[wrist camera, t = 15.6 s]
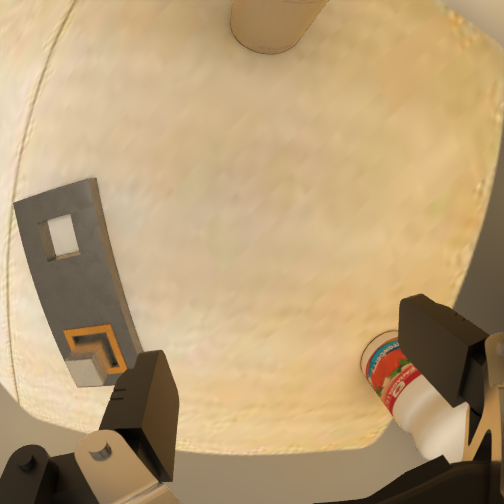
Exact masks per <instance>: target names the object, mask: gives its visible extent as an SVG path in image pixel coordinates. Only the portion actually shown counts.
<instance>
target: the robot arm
mask: <svg viewBox="0 0 504 504" xmlns="http://www.w3.org/2000/svg"><path fill="white" fill-rule="evenodd" d="M328 1H329V0H233V5H232V12H231V21H230V25H231V30H232V32H233V34H234V36H235V37H236V39H237V40H238V41H239V42H240V43H241V44H242V45H243V46H245V47H247V48H249V49H250V50H253V51H256V52H259V53H265V54H275V53H281V52H284V51H286V50H288V49H290V48H292V47H293V46H294V45H295V44H296V43H297V42H298V41H299V39H300V38H301V37H302V35H303V34H304V32H305V31H306V30H307V29H308V27H309V26H310V25H311V23H312V22H313V20H314V19H315V18H316V16H317V15H318V14H319V12H320V11H321V10H322V9H323V7H324V6H325V5H326V3H327V2H328ZM398 343H399V347H400V350H401V352H402V354H403V355H404V356H405V357H406V358H407V359H408V360H409V361H410V362H411V363H412V364H413V365H414V366H415V368H416V369H417V370H418V371H419V372H420V373H421V374H422V375H423V376H424V377H425V378H426V379H427V380H428V381H429V383H430V384H431V385H432V386H433V387H434V388H435V389H436V390H437V391H438V392H439V393H440V395H441V396H442V397H443V398H444V399H445V400H446V401H447V402H448V403H449V404H450V406H451V407H452V408H455V407H457V406H459V405H461V404H462V403H464V402H467V403H468V407H467V410H466V424H465V439H464V451H463V457H462V461H460V462H455V463H449V462H448V461H447V459H446V458H445V456H444V455H441V456H439V457H437V458H435V459H433V460H431V461H429V462H427V463H425V464H422V465H420V466H418V467H416V468H414V469H412V470H410V471H407V472H405V473H404V474H403V475H401V476H400V477H398V478H397V479H395V480H394V481H393V482H391V483H390V484H388V485H387V486H385V487H384V488H382V489H381V490H379V491H377V492H376V493H374V494H373V495H371V496H369V497H367V498H363V499H358V500H348V501H339V502H327V503H314V504H504V333H496V334H493V335H491V336H490V335H489V334H487V333H486V332H484V331H483V330H482V329H480V328H479V327H477V326H476V325H474V324H473V323H472V322H470V321H469V320H466V319H465V318H464V317H463V316H461V315H458V313H457V312H455V311H454V310H453V309H451V308H450V307H447V306H444V305H441V304H438V303H435V302H434V301H433V300H431V299H430V298H428V297H427V296H425V295H424V294H417V295H414V296H410V297H407V298H404V299H402V300H401V302H400V307H399V329H398ZM113 390H114V392H112V395H111V397H110V401H109V403H108V405H107V408H106V411H105V413H104V416H103V419H102V422H101V425H100V427H99V430H98V431H95V432H92V433H90V434H88V435H86V436H85V437H83V438H82V439H81V440H80V442H79V443H78V444H77V446H76V448H75V452H74V453H70V454H65V455H60V456H55V457H50V456H49V454H48V453H47V452H46V451H45V449H44V448H43V447H41V446H39V445H27V446H23V447H21V448H19V449H18V450H16V451H15V452H14V453H13V454H12V455H11V457H10V458H9V460H8V462H7V464H6V467H5V469H4V471H3V474H2V476H1V478H0V504H182V502H181V501H179V499H178V498H177V497H175V496H174V494H173V493H172V492H171V491H170V490H169V489H168V488H167V487H166V486H165V485H164V484H163V483H162V482H173V470H174V457H175V445H176V434H177V423H178V413H179V395H178V391H177V387H176V384H175V382H174V379H173V376H172V373H171V370H170V368H169V365H168V362H167V359H166V356H165V354H164V352H163V351H162V350H155V351H148V352H140V353H139V354H138V357H137V360H136V362H135V365H134V368H132V369H126V371H125V372H124V373H123V374H122V375H121V376H120V377H119V378H118V379H117V382H116V384H115V387H114V389H113Z"/></svg>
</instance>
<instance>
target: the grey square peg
mask: <svg viewBox="0 0 504 504" xmlns="http://www.w3.org/2000/svg"><path fill="white" fill-rule="evenodd" d="M114 360H115V356H114V353H113V351H112V348H111V346H110V343H109V341H108V338H107V335H106V333H101V334H93V335H85V336H81V338H80V339H79V341H78V342H77V344H76V345H75V347H74V348H73V350H72V351H71V353H70V354H69V356H68V357H67V359H66V360H65V363H66V365H67V368H68V370H69V372H70V374H71V376H72V378H73V380H74V382H75V384H76V386H77V387H86V386H102V385H103V384H104V382H105V380H106V378H107V375H108V373H109V371H110V368H111V366H112V364H113V362H114Z"/></svg>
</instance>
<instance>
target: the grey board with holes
mask: <svg viewBox="0 0 504 504" xmlns="http://www.w3.org/2000/svg"><path fill="white" fill-rule="evenodd" d="M13 204H14V209H15V214H16V218H17V223H18V227H19V232H20V236H21V240H22V244H23V247H24V251H25V255H26V258H27V262H28V265H29V269H30V272H31V275H32V278H33V282H34V285H35V288H36V291H37V294H38V297H39V299H40V302H41V305H42V308H43V311H44V313H45V316H46V318H47V321H48V324H49V326H50V329H51V331H52V334H53V336H54V338H55V341H56V343H57V345H58V348H59V350H60V352H61V355H62V357H63V359H64V361H65V360H66V359H67V357H68V356H69V354H70V353H71V351H72V350H73V348H74V347H75V345H76V344H77V342H78V341H79V339H80V338H81V336H85V335H93V334H101V333H106V335H107V338H108V341H109V343H110V346H111V348H112V351H113V353H114V356H115V360H114V362H113V364H112V366H111V368H110V371H109V373H108V375H107V378H106V380H105V382H104V384H103V385H102V386H112V385H115V384H116V382H117V379H118V378H119V377H120V376H121V375H122V374H123V373H124V372H125V371H126V369H132V368H134V365H135V362H136V360H137V357H138V354H139V353H140V352H143V350H142V347H141V344H140V341H139V338H138V336H137V333H136V330H135V327H134V324H133V321H132V318H131V315H130V311H129V308H128V305H127V302H126V299H125V295H124V292H123V289H122V285H121V282H120V278H119V275H118V271H117V268H116V264H115V260H114V256H113V252H112V249H111V245H110V241H109V236H108V232H107V228H106V224H105V219H104V215H103V210H102V205H101V201H100V196H99V191H98V185H97V180H96V178H90V179H86V180H82V181H79V182H76V183H72V184H69V185H66V186H62V187H59V188H56V189H53V190H50V191H47V192H44V193H41V194H38V195H35V196H32V197H29V198H26V199H23V200H20V201H17V202H15V203H13ZM69 213H70V214H71V218H72V223H73V227H74V231H75V235H76V239H77V243H78V247H79V252H74V253H70V254H66V255H61V256H57V257H56V255H55V252H54V248H53V244H52V240H51V236H50V232H49V228H48V224H47V220H48V219H51V218H55V217H58V216H62V215H66V214H69ZM86 387H97V386H86Z"/></svg>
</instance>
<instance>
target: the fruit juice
mask: <svg viewBox="0 0 504 504" xmlns="http://www.w3.org/2000/svg"><path fill="white" fill-rule="evenodd" d="M361 367H362V371H363V373H364V375H365V377H366V378H367V380H368V381H369V383H370V384H371V386H372V387H373V389H374V390H375V391H376V393H377V394H378V396H379V397H380V399H381V400H382V402H383V403H384V404H385V406H386V407H387V409H388V410H389V412H390V413H391V415H392V416H393V418H394V419H395V421H396V422H397V423H398V425H399V426H400V427H401V428H402V429H403V430H404V431H405V432H406V433H407V434H409V435H412V437H413V440H414V444H415V447H416V449H417V451H418V452H419V453H420V455H421V456H422V457H424V458H425V459H427V460H430V461H431V460H433V459H435V458H437V457H439V456H441V455H444V456H445V458H446V459H447V461H448V462H449V463H455V462H460V461H462V457H463V451H464V439H465V424H466V410H467V407H468V403H467V402H464V403H462V404H461V405H459V406H457V407H455V408H452V407H451V406H450V404H449V403H448V402H447V401H446V400H445V399H444V398H443V397H442V396H441V395H440V393H439V392H438V391H437V390H436V389H435V388H434V387H433V386H432V385H431V384H430V383H429V381H428V380H427V379H426V378H425V377H424V376H423V375H422V374H421V373H420V372H419V371H418V370H417V369H416V368H415V366H414V365H413V364H412V363H411V362H410V361H409V360H408V359H407V358H406V357H405V356H404V355H403V354H402V352H401V350H400V347H399V343H398V332H397V331H391V332H387V333H384V334H382V335H380V336H378V337H377V338H376V339H374V340H373V341H372V342H371V343H370V344H369V345H368V347H367V348H366V350H365V352H364V354H363V356H362V360H361Z"/></svg>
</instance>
